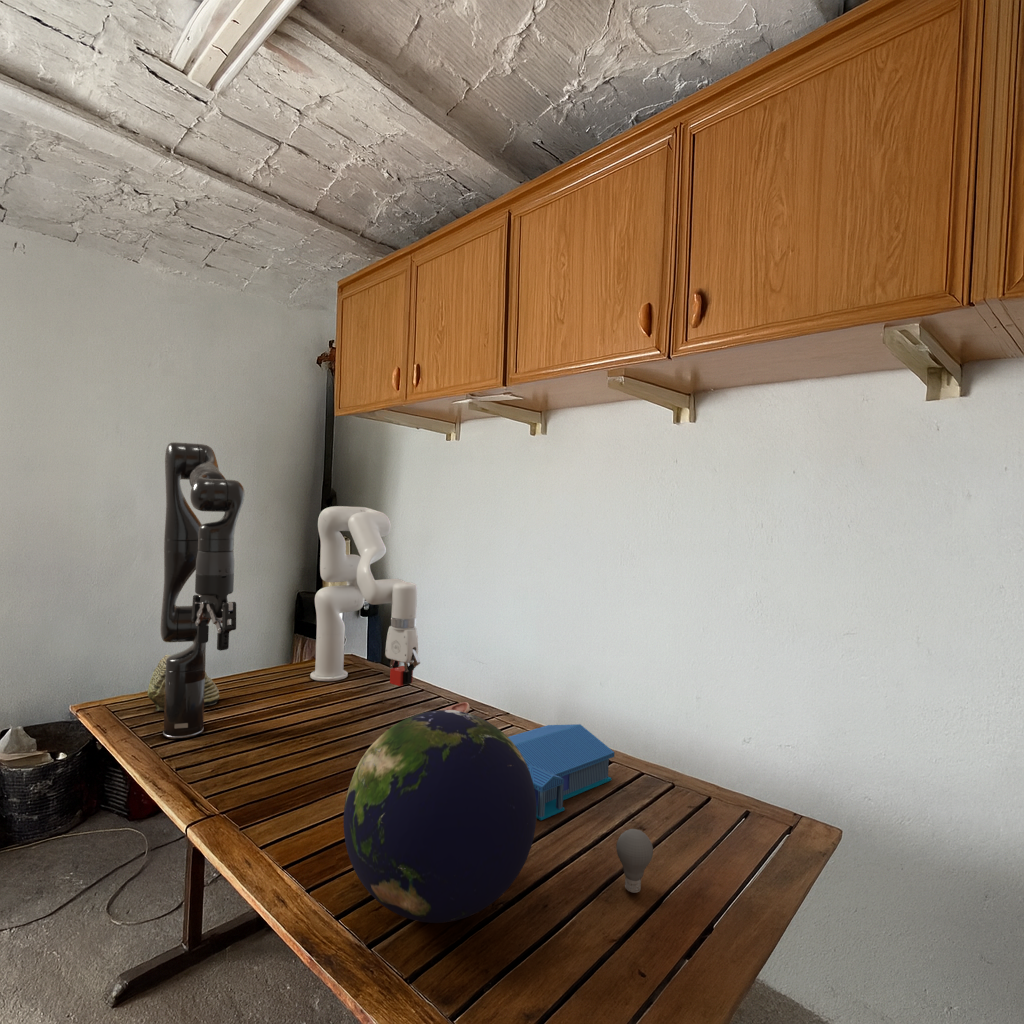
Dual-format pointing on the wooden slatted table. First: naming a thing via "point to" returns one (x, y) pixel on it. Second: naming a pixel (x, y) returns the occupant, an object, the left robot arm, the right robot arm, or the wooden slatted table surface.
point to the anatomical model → (459, 707)
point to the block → (397, 675)
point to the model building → (562, 763)
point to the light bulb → (634, 857)
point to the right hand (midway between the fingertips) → (401, 681)
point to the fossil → (158, 687)
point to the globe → (440, 816)
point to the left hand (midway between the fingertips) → (212, 646)
